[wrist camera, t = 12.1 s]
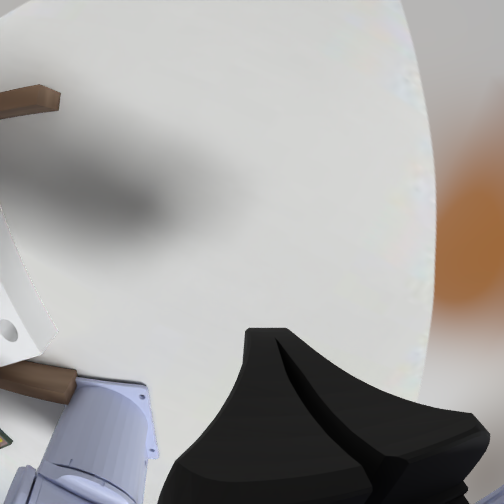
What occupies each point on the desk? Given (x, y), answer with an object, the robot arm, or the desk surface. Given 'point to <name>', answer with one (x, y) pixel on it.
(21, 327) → the bracket
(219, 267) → the desk surface
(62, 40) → the desk surface
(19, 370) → the box
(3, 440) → the smartphone
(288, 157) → the desk surface
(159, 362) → the desk surface
